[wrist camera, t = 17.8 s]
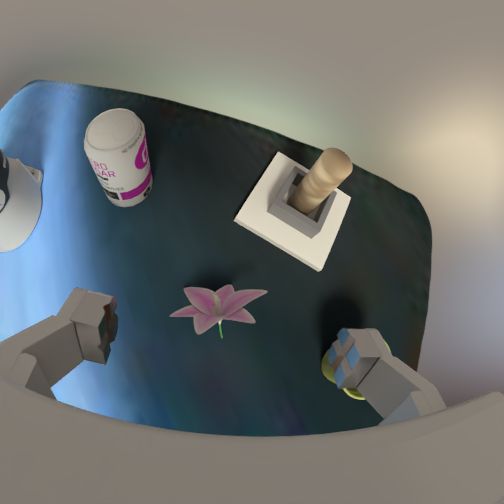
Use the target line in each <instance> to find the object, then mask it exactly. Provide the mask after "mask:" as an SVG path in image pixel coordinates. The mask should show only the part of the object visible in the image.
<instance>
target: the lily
mask: <svg viewBox="0 0 504 504" xmlns="http://www.w3.org/2000/svg"><path fill="white" fill-rule="evenodd" d="M184 292H185V294H186V296H187V297H188V299H189V301H190V302H191V303H192V304H193V305H190V306H187V307H184V308H182V309H180V310H178V311H176V312H174V313H173V314H171V315H170V317H194V328H195V331H196V333H197V334H202V333H203V332H205V331H207V330H208V329H209V328H210V327H212V326H213V325H214V324H216V323H217V322H218V323H219V330H220V336H221V338H223V335H222V329H221V321H222V320H223V319H228V320H234V321H240V322H247V323H255V320H254V318H253V317H252V316H251V314H250V313H249V312H248V311H247V310H245V309H244V308H242V307H243V306H245V305H246V304H247V303H249V302H251V301H252V300H254V299H256V298H258V297H260V296H262V295H264V294H265V293H267V291H266V290H254V289H253V290H240V291H237V292H234V289H233V286H232V285H226V286H224V287H222V288H220V289H219V290H217V291H216V292H214V291H212V290H209V289H206V288H199V287H187V288H184Z"/></svg>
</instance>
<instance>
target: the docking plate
mask: <svg viewBox="0 0 504 504" xmlns="http://www.w3.org/2000/svg"><path fill="white" fill-rule="evenodd" d="M309 171H310V170H308V169H306V168H305V167H303V166H302V165H300V164H298V163H297V162H295V161H293V160H292V159H290V158H288V157H287V156H285V155H283V154H282V153H280V152H278V153H277V154H276V156H275V157H274V159H273V160H272V162H271V163H270V165H269V166H268V168H267V169H266V171H265V172H264V174H263V176H262V177H261V179H260V180H259V182H258V183H257V185H256V186H255V188H254V189H253V191H252V192H251V194H250V196H249V197H248V199H247V200H246V202H245V203H244V205H243V207H242V208H241V210H240V211H239V213H238V214H237V216H236V218H235V220H234V221H235V222H237V223H238V224H240V225H242V226H243V227H245V228H247V229H248V230H250V231H252V232H253V233H255V234H257V235H258V236H260V237H262V238H263V239H265V240H267V241H268V242H270V243H272V244H274V245H275V246H277V247H279V248H280V249H282V250H283V251H285V252H287V253H288V254H290V255H292V256H293V257H295V258H297V259H298V260H300V261H302V262H303V263H305V264H307V265H308V266H310V267H312V268H313V269H315V270H316V271H318V272H319V271H321V270H322V268H323V266H324V263H325V261H326V259H327V256H328V254H329V252H330V249H331V247H332V244H333V242H334V240H335V237H336V235H337V232H338V230H339V227H340V225H341V222H342V220H343V217H344V215H345V212H346V209H347V207H348V204H349V202H350V199H351V197H349V196H348V195H346V194H345V193H343V192H342V191H340V190H339V189H337V188H335V189H334V190H333V191H332V192H331V193H330V194H329V195H328V196H327V197H326V198H325V199H324V200H323V201H322V202H321V203H320V204H319V205H318V206H317V207H316V208H315V209H314V210H313V211H312V212H311V213H310V214H309V215H308V216H305V215H303V214H302V213H300V212H299V211H297V210H295V209H294V208H292V207H291V206H289V205H287V200H288V198H289V197H290V196H291V194H292V193H293V192H294V190H295V189H296V188H297V186H298V185H299V184H300V183H301V181H302V180H303V179H304V177H305V176H306V175H307V173H308V172H309Z"/></svg>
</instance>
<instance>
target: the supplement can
mask: <svg viewBox="0 0 504 504" xmlns="http://www.w3.org/2000/svg"><path fill="white" fill-rule="evenodd" d="M84 150H85V152H86V154H87V156H88V158H89V161H90V163H91V165H92V167H93V169H94V171H95V173H96V175H97V177H98V180H99V182H100V184H101V186H102V188H103V190H104V192H105V194H106V195H107V197H108V199H109V200H110V201H111V202H112V203H114V204H115V205H117V206H122V207H128V206H134V205H136V204H138V203H140V202H142V201H143V200H144V199H145V198H146V197H147V196H148V194H149V192H150V191H151V189H152V183H153V180H152V174H151V168H150V162H149V156H148V149H147V142H146V135H145V129H144V124H143V122H142V121H141V120H140V119H139V118H138V117H137V116H136V115H135V114H134V112H132V111H130V110H128V109H121V108H117V109H111V110H108V111H106V112H103V113H101V114H100V115H98V116H97V117H96V118H94V119H93V120H92V122H91V123H90V124H89V125H88V128H87V130H86V136H85V139H84Z"/></svg>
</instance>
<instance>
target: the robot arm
mask: <svg viewBox="0 0 504 504" xmlns="http://www.w3.org/2000/svg"><path fill="white" fill-rule="evenodd" d="M33 174H34V175H33ZM42 179H43V173H42V172H41V171H40V170H38V169H35V168H32V167H30V166H27V165H24V164H22V162H21V161H20V160H19V159H14V158H11V157H6V156H5V155H4V153H3V152H2V150H1V149H0V252H7V251H11V250H14V249H15V248H17V247H19V246H20V245H21V244H22V243H23V242H24V241H25V240H26V239H27V238H28V237H29V235H30V234H31V233H32V231H33V229H34V227H35V225H36V223H37V221H38V218H39V215H40V211H41V204H42V197H41V189H40V188H41V183H42ZM116 307H117V303H116V298H115V297H114V296H111V295H106V294H102V293H98V292H94V291H91V290H86V289H82V288H78V287H76V288H74V289H73V291H72V292H71V294H70V295H69V297H68V298H67V300H66V301H65V303H64V304H63V306H62V308H61V309H60V311H59V312H58V314H57V315H56V316H53V315H52V316H50V317H48V318H46V319H44V320H42V321H40V322H38V323H37V324H35V325H33V326H31V327H29V328H27V329H25V330H23V331H21V332H19V333H17V334H15V335H13V336H11V337H10V338H8V339H6V340H4V341H2V342H1V344H0V504H504V395H503V394H501V393H499V392H498V391H491V392H488V393H486V394H484V395H481V396H479V397H476V398H474V399H471V400H469V401H466V402H463V403H461V404H458V405H455V406H452V407H449V408H447V407H446V405H445V404H444V402H443V400H442V398H441V396H440V394H439V392H438V391H437V389H436V387H435V386H434V385H432V384H431V383H430V382H428V381H427V380H426V379H424V378H423V377H422V376H420V375H419V374H418V373H416V372H415V371H414V370H413V369H411V368H410V367H409V366H407V365H406V364H405V363H403V362H402V361H401V360H399V359H398V358H397V357H393V356H392V354H391V352H390V351H389V349H388V347H387V345H386V344H385V342H384V340H383V338H382V336H381V335H380V333H379V331H378V330H376V329H370V328H365V329H362V328H342V329H341V330H340V331H339V333H338V334H337V336H338V340H336V341H335V342H334V343H332V345H331V347H330V349H329V354H328V360H329V364H330V366H331V367H332V368H333V369H334V370H335V373H334V378H335V381H336V384H337V387H338V388H356V389H357V390H358V391H359V392H360V393H361V395H362V396H363V397H364V398H365V399H366V400H367V401H368V402H369V403H370V404H371V405H372V406H373V407H374V408H375V409H376V410H377V412H378V413H379V414H380V415H381V416H382V417H383V418H384V420H383V421H382V422H381V423H380V424H379V425H378V426H375V427H370V428H364V429H358V430H351V431H344V432H336V433H327V434H316V435H302V436H279V437H248V436H225V435H211V434H201V433H191V432H183V431H176V430H169V429H163V428H157V427H152V426H146V425H141V424H136V423H132V422H127V421H123V420H119V419H115V418H111V417H107V416H103V415H100V414H96V413H93V412H90V411H86V410H83V409H80V408H77V407H74V406H71V405H68V404H65V403H62V402H60V401H57V399H56V397H55V396H54V394H53V392H52V390H51V387H52V386H53V385H55V384H56V383H57V382H58V381H59V380H61V379H62V378H63V377H64V376H66V375H67V374H68V373H69V372H70V371H72V370H73V369H74V368H75V367H77V366H78V365H79V364H80V363H81V362H83V360H87V361H91V362H95V363H99V364H104V365H106V362H107V360H108V357H109V354H110V351H111V349H110V344H111V343H112V342H114V340H115V337H116V334H117V329H118V316H117V314H116V313H115V312H114V311H115V309H116Z"/></svg>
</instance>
